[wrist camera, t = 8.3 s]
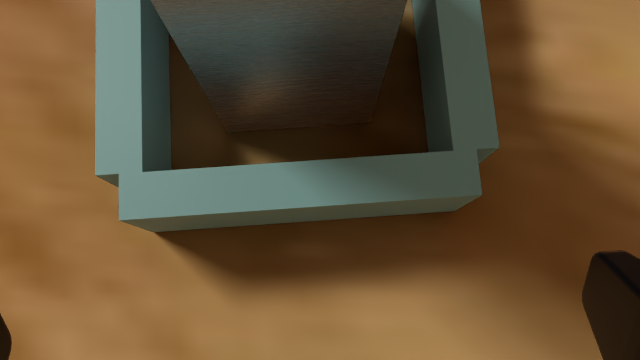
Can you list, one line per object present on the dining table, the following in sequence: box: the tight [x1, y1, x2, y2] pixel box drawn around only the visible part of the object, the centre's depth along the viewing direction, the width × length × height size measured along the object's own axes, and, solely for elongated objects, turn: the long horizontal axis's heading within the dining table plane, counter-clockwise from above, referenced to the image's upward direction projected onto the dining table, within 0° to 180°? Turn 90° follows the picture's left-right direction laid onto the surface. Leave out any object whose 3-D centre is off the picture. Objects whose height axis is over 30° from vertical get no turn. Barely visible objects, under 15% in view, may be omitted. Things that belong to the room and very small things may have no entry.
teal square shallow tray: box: [95, 0, 500, 232], centre depth 17 cm, size 10×10×3 cm
